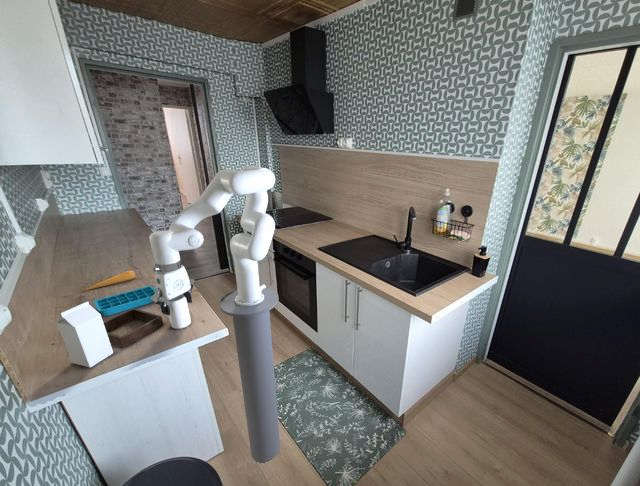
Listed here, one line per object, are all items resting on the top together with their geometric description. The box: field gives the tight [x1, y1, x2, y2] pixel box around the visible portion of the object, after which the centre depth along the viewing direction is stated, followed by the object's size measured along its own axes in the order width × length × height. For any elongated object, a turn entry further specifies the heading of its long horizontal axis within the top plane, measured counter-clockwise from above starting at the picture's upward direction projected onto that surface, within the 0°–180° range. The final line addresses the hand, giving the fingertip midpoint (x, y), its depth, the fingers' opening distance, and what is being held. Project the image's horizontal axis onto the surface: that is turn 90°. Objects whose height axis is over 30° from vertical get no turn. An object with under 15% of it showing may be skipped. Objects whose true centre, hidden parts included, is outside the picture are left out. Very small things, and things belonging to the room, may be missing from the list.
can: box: [167, 294, 192, 330], centre depth 110 cm, size 6×6×12 cm
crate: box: [103, 307, 164, 349], centre depth 106 cm, size 15×15×4 cm
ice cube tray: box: [93, 285, 157, 317], centre depth 123 cm, size 12×20×3 cm, turn 139°
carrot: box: [82, 270, 137, 292], centre depth 137 cm, size 20×4×4 cm, turn 143°
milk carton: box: [55, 301, 114, 368], centre depth 90 cm, size 7×7×19 cm
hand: (177, 307), depth 109 cm, fingers open, 8 cm apart
